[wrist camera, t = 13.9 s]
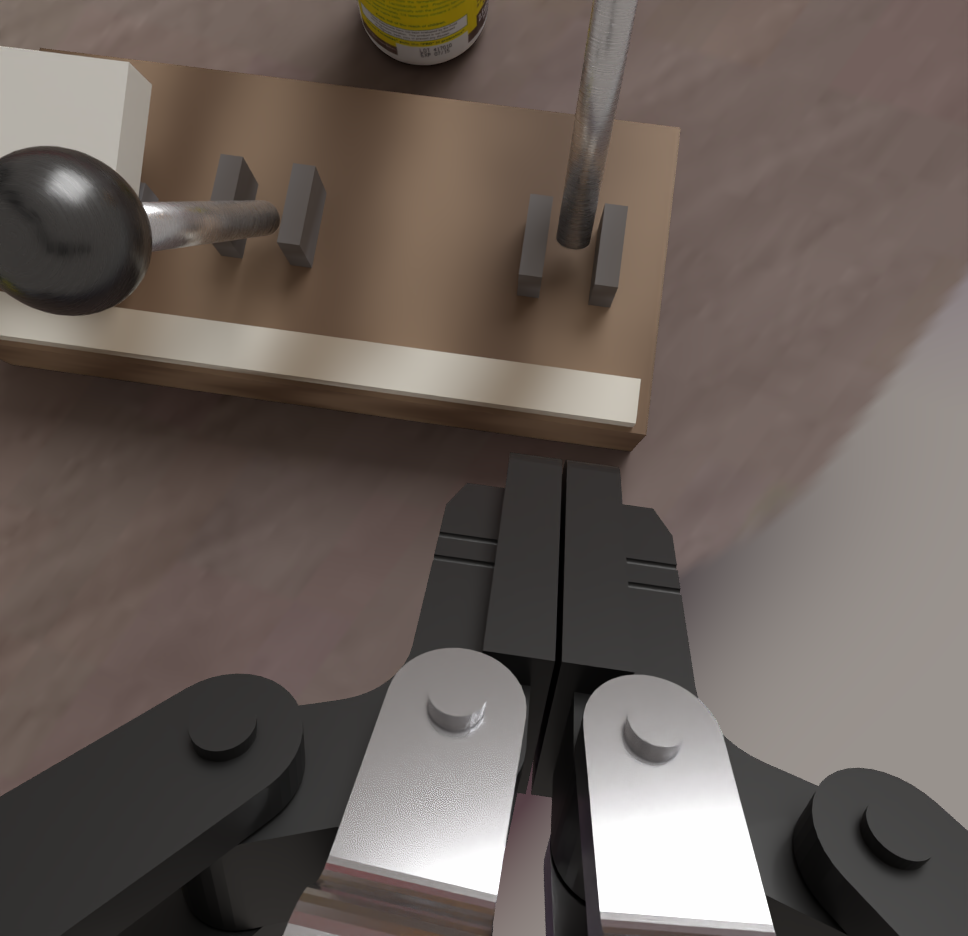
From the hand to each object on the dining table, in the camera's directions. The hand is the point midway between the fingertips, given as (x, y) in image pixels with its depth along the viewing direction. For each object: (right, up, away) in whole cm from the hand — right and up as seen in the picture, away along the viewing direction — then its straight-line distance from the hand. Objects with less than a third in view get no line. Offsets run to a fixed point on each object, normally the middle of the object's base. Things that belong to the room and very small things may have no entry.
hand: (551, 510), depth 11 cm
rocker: (-16, +11, +16) cm, 25 cm away
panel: (-7, +9, +20) cm, 23 cm away
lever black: (-9, +10, +17) cm, 21 cm away
